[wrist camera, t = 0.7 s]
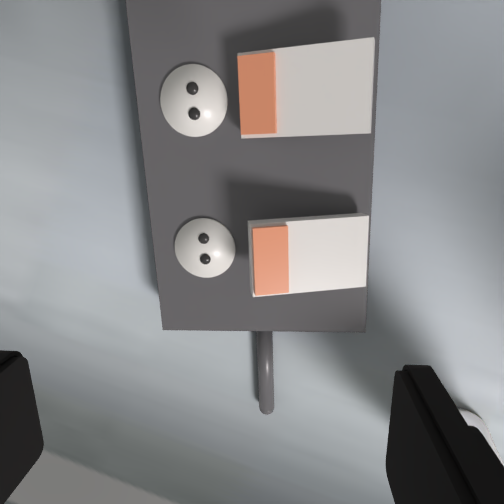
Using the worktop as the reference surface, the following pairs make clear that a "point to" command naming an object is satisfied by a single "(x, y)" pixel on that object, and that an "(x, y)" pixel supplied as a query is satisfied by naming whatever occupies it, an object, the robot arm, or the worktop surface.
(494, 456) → the robot arm
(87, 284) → the worktop surface
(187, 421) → the worktop surface
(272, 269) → the outlet rocker
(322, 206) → the power strip
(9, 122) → the worktop surface
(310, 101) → the outlet rocker
